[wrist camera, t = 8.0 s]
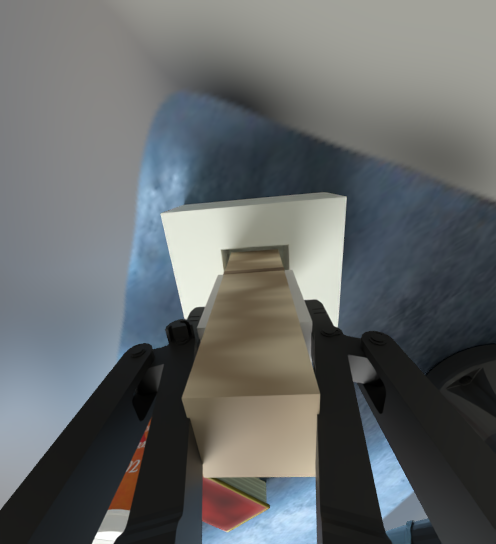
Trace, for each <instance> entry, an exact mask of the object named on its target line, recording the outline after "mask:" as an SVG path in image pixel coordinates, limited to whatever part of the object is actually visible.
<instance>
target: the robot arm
mask: <svg viewBox="0 0 496 544" xmlns="http://www.w3.org/2000/svg"><path fill="white" fill-rule="evenodd" d="M285 275H286V278H287V282H288V285H289V289H290V292H291V295H292V299H293V302H294V306H295V309H296V313H297V316H298V319H299V323H300V326H301V330H302V333H303V337H304V340H305V343H306V347H307V350H308V354H309V357H310V361H311V364H312V361H313V365H314V368H313V371H314V374H315V378H316V381H317V385H318V388H319V391H320V412H319V414H317V431H316V459H315V470H316V517H317V544H496V344H492V345H484V346H478V347H474V348H471V349H467V350H464V351H462V352H459V353H457V354H455V355H453V356H451V357H449V358H447V359H446V360H444V361H443V362H441V363H440V364H438V365H437V366H436V367H435V368H434V369H432V370H431V371H430V372H429V374H428V375H427V376H425V375H424V374H423V372H422V371H421V370H420V369H419V368H418V367H417V366H416V365H415V364H414V362H413V361H412V360H411V359H410V358H409V357H408V356H407V355H406V353H405V352H404V351H403V350H402V349H401V348H400V347H399V346H398V345H397V343H396V342H395V341H394V340H393V339H392V338H391V337H389V336H388V335H386V334H384V333H381V332H377V331H369V332H365V333H364V334H362V337H361V338H355V337H350V336H346V335H343V333H342V331H341V330H340V329H339V328H338V327H335V326H334V325H333V323H332V321H331V319H330V317H329V315H328V313H327V311H326V310H325V308H324V306H323V304H322V303H321V302H320V301H318V300H317V299H313V300H304V299H303V296H302V293H301V291H300V288H299V286H298V283H297V280H296V278H295V275H294V272H293V270H285ZM222 278H223V275H218V276H217V278H216V281H215V283H214V286H213V288H212V291H211V293H210V296H209V299H208V301H207V304H206V306H205V307H195V308H194V309H193V310H192V311H191V312H190V314H189V316H188V318H187V319H180V320H176V321H174V322H172V323H170V324H169V325H168V326H167V327H166V329H165V331H166V334H167V338H168V341H169V344H168V345H167V346H164V347H161V348H157V349H154V350H153V349H152V346H151V345H150V344H146V343H143V344H138V345H135V346H133V347H132V348H130V349H129V350H128V351H126V352H125V354H124V355H123V356H122V357H121V359H120V360H119V361H118V362H117V364H116V365H115V366H114V367H113V369H112V370H111V371H110V372H109V374H108V375H107V376H106V378H105V379H104V380H103V381H102V383H101V384H100V385H99V386H98V388H97V389H96V390H95V391H94V393H93V394H92V395H91V396H90V398H89V399H88V400H87V401H86V403H85V404H84V405H83V407H82V408H81V409H80V410H79V412H78V413H77V414H76V415H75V417H74V418H73V419H72V421H71V422H70V423H69V424H68V425H67V427H66V428H65V429H64V430H63V432H62V433H61V434H60V435H59V437H58V438H57V439H56V441H55V442H54V443H53V444H52V446H51V447H50V448H49V449H48V451H47V452H46V453H45V454H44V456H43V457H42V458H41V459H40V461H39V462H38V463H37V464H36V466H35V467H34V468H33V470H32V471H31V472H30V473H29V475H28V476H27V477H26V479H25V480H24V481H23V482H22V483H21V485H20V486H19V487H18V489H17V490H16V491H15V492H14V494H13V495H12V496H11V498H10V499H9V500H8V501H7V502H6V504H5V505H4V506H3V507H2V509H1V510H0V544H92V543H93V540H94V538H95V536H96V534H97V532H98V530H99V528H100V526H101V523H102V521H103V519H104V517H105V515H106V513H107V511H108V509H109V506H110V504H111V502H112V500H113V498H114V496H115V494H116V492H117V489H118V487H119V485H120V483H121V481H122V479H123V477H124V475H125V473H126V470H127V468H128V466H129V464H130V462H131V460H132V458H133V456H134V453H135V451H136V449H137V447H138V445H139V443H140V441H141V439H142V436H143V434H144V432H145V430H146V428H147V426H148V424H149V422H150V420H151V422H150V426H149V431H148V435H147V439H146V444H145V448H144V452H143V457H142V461H141V465H140V470H139V474H138V478H137V483H136V487H135V491H134V496H133V500H132V504H131V509H130V513H129V517H128V521H127V525H126V528H125V530H124V532H123V533H122V534H121V535H120V536H118V537H117V538H116V540H115V542H114V544H202V487H203V464H202V460H201V457H200V453H199V449H198V446H197V442H196V438H195V435H194V431H193V427H192V424H191V420H190V418H187V416H186V412H185V409H184V405H183V402H182V396H183V393H184V390H185V387H186V384H187V381H188V378H189V375H190V372H191V369H192V367H193V364H194V361H195V358H196V355H197V352H198V349H199V346H200V343H201V340H202V337H203V334H204V331H205V328H206V325H207V322H208V319H209V317H210V314H211V311H212V308H213V305H214V302H215V299H216V296H217V293H218V290H219V287H220V284H221V281H222ZM353 381H354V382H357V384H358V386H359V388H360V390H361V392H362V394H363V396H364V397H365V399H366V401H367V403H368V405H369V407H370V409H371V411H372V413H373V414H374V416H375V418H376V420H377V422H378V424H379V426H380V428H381V430H382V431H383V433H384V435H385V437H386V439H387V441H388V443H389V445H390V447H391V448H392V450H393V452H394V454H395V456H396V458H397V460H398V462H399V464H400V465H401V467H402V469H403V471H404V473H405V475H406V477H407V479H408V481H409V482H410V484H411V486H412V488H413V490H414V492H415V494H416V495H417V498H418V499H419V501H420V503H421V505H422V507H423V509H424V511H425V513H426V515H427V516H428V519H424V520H420V521H416V522H415V521H407V523H406V525H403V526H400V527H397V528H394V529H391V530H389V531H385V529H384V526H383V521H382V517H381V512H380V507H379V502H378V498H377V493H376V488H375V483H374V479H373V474H372V469H371V464H370V459H369V455H368V450H367V445H366V440H365V436H364V431H363V426H362V421H361V417H360V412H359V407H358V402H357V398H356V393H355V388H354V383H353ZM151 417H152V418H151Z"/></svg>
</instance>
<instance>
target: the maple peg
mask: <svg viewBox="0 0 496 544" xmlns="http://www.w3.org/2000/svg"><path fill="white" fill-rule="evenodd" d="M182 402H183V405H184V409H185V412H186V416H187V418H190V420H191V424H192V427H193V431H194V435H195V438H196V442H197V446H198V449H199V453H200V457H201V460H202V464H203V476H204V478H216V477H316V470H315V459H316V431H317V414H319V412H320V391H319V388H318V385H317V381H316V378H315V374H314V371H313V367H312V364H311V361H310V357H309V354H308V350H307V347H306V343H305V340H304V337H303V333H302V330H301V326H300V323H299V319H298V316H297V313H296V309H295V306H294V302H293V299H292V295H291V292H290V289H289V285H288V282H287V278H286V275H285V269H284V267H283V265H282V261H281V258H280V254H279V251H278V249H273V250H260V251H247V252H234V253H231V255H230V258H229V261H228V264H227V267H226V269H225V271H224V273H223V278H222V281H221V284H220V287H219V290H218V293H217V296H216V299H215V302H214V305H213V308H212V311H211V314H210V317H209V319H208V322H207V325H206V328H205V331H204V334H203V337H202V340H201V343H200V346H199V349H198V352H197V355H196V358H195V361H194V364H193V367H192V369H191V372H190V375H189V378H188V381H187V384H186V387H185V390H184V393H183V396H182Z"/></svg>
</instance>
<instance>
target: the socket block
mask: <svg viewBox="0 0 496 544" xmlns="http://www.w3.org/2000/svg"><path fill="white" fill-rule="evenodd" d="M346 200H347V197H346V196H341V195H336V194H332V193H327V192H319V193H308V194H297V195H286V196H275V197H264V198H253V199H242V200H232V201H221V202H210V203H199V204H188V205H182V206H179V207H177V208H174V209H171V210H168V211H166V212H163V213H161V218H162V222H163V226H164V231H165V235H166V240H167V244H168V248H169V253H170V257H171V261H172V266H173V270H174V274H175V279H176V283H177V287H178V292H179V296H180V301H181V305H182V309H183V314H184V318H185V319H187V318H188V316H189V314H190V312H191V311H192V310H193V309H194V308H195V307H205V306H206V304H207V301H208V299H209V296H210V293H211V291H212V288H213V286H214V283H215V281H216V278H217V276H218V275H223V273H224V271H225V269H226V267H227V264H228V261H229V258H230V255H231V253H234V252H247V251H260V250H273V249H278V251H279V254H280V258H281V261H282V265H283V267H284V269H285V270H293V272H294V275H295V278H296V280H297V283H298V286H299V288H300V291H301V293H302V296H303V299H304V300H313V299H317V300H318V301H320V302H321V303H322V304H323V306H324V308H325V310H326V311H327V313H328V315H329V317H330V319H331V321H332V323H333V325H334V326H335V327H338V317H339V302H340V288H341V273H342V259H343V244H344V229H345V215H346Z"/></svg>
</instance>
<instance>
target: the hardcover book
mask: <svg viewBox="0 0 496 544" xmlns="http://www.w3.org/2000/svg"><path fill="white" fill-rule="evenodd" d="M269 508H270V505H269V504H267V503H266V482H264V481H262V480H260V479H259V478H257V477H216V478H204V476H203V487H202V521H203V522H206V523H208V524H210V525H212V526H215V527H217V528H219V529H221V530H224V531H226V532H229V531H231V530H233V529H234V528H236V527H238V526H240V525H241V524H243V523H245V522H246V521H248V520H250V519H252V518H253V517H255V516H257V515H259V514H260V513H262V512H264V511H266V510H267V509H269Z"/></svg>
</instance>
